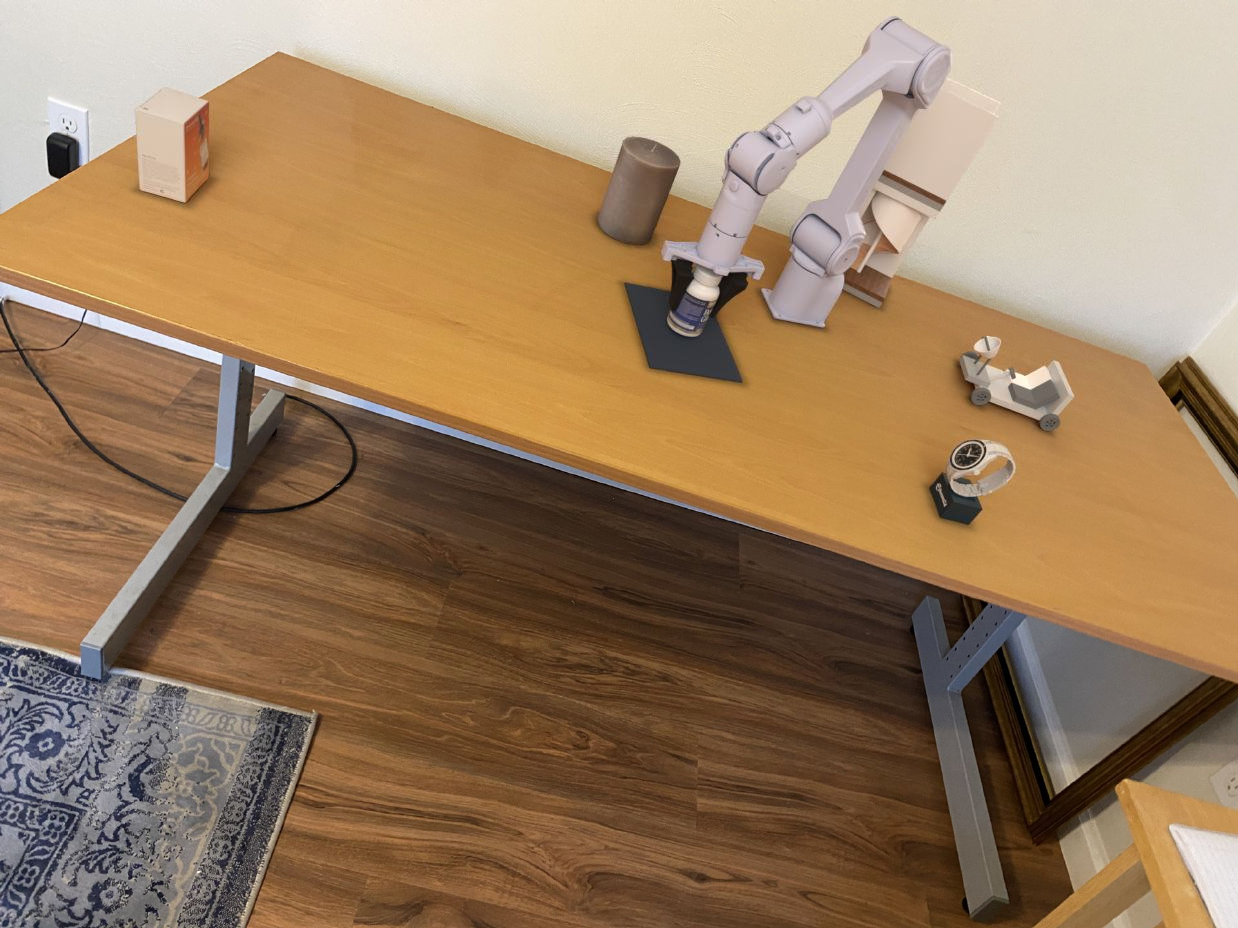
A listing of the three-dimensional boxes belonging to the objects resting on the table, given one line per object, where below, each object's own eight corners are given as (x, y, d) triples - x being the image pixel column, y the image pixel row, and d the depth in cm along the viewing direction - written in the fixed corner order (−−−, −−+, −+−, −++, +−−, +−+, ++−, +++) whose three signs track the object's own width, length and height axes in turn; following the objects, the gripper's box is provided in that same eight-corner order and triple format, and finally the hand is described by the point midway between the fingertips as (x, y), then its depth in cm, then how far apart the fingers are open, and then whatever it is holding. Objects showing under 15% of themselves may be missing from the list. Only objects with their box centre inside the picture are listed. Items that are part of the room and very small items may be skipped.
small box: (185, 205, 105) (183, 124, 98) (138, 191, 104) (133, 108, 97) (210, 178, 111) (210, 100, 104) (166, 164, 110) (163, 85, 103)
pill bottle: (698, 343, 119) (725, 285, 113) (663, 328, 119) (688, 270, 112) (703, 324, 123) (729, 268, 117) (669, 310, 123) (694, 253, 116)
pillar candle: (661, 236, 141) (695, 153, 131) (632, 251, 134) (665, 164, 124) (616, 208, 143) (645, 123, 133) (584, 221, 136) (613, 133, 126)
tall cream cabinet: (821, 278, 149) (930, 84, 127) (832, 257, 158) (936, 72, 135) (879, 308, 148) (999, 118, 126) (886, 285, 156) (1001, 103, 134)
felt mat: (708, 300, 131) (708, 298, 130) (742, 382, 117) (742, 381, 117) (624, 283, 126) (624, 282, 126) (649, 368, 112) (650, 366, 112)
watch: (916, 484, 113) (963, 425, 106) (968, 498, 115) (1018, 440, 107) (927, 514, 109) (977, 455, 102) (980, 528, 110) (1033, 470, 103)
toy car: (989, 348, 128) (976, 310, 136) (952, 396, 134) (942, 356, 143) (1093, 388, 129) (1074, 348, 138) (1052, 433, 136) (1036, 392, 144)
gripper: (685, 230, 105) (648, 318, 114) (786, 253, 110) (743, 335, 119) (673, 202, 110) (639, 288, 119) (770, 225, 115) (730, 306, 123)
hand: (690, 310), depth 119 cm, fingers closed on pill bottle, 5 cm apart
